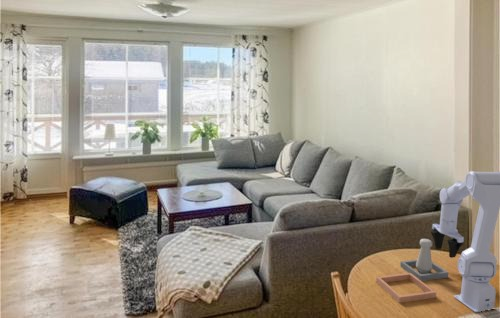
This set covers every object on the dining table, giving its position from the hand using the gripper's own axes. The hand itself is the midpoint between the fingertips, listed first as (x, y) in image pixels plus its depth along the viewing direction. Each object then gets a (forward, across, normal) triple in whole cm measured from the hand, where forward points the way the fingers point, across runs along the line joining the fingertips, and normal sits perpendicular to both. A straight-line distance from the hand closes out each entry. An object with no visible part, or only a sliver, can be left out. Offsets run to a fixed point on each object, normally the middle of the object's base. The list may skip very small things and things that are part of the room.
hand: (445, 252), depth 147 cm
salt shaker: (+7, 0, +9) cm, 11 cm away
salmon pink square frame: (+7, -10, +24) cm, 27 cm away
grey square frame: (+7, 0, +9) cm, 11 cm away
